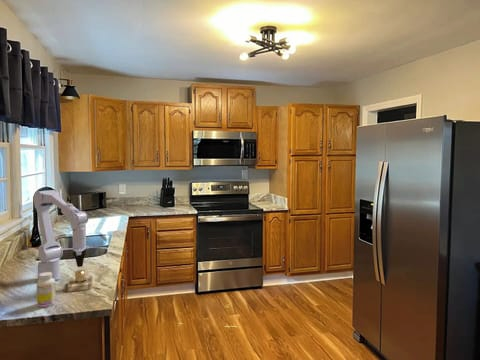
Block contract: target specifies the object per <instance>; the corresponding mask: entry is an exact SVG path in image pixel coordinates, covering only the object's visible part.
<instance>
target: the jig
mask: <svg viewBox="0 0 480 360" xmlns="http://www.w3.org/2000/svg"><path fill="white" fill-rule="evenodd" d="M68 280H69V281H68V284H67V292H68V293H71V292H77V291H78V292H79V291H80V292H81V291H84V290H85V291H87V289H88V290H92V289H93V275H88V276H86V275H85V282H83V283H75V277H71V278H70V277H69V279H68Z"/></svg>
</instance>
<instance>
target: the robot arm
mask: <svg viewBox="0 0 480 360" xmlns="http://www.w3.org/2000/svg"><path fill="white" fill-rule="evenodd" d="M32 200H33V204H34V208H35V210H36V213H37V219H38V224H39V230H40V234H41V241H42V243H41V245H39V246H38V248H37V249H38V253H37V257H38V260H39V261H38V263H37V282H38V281H39V280H40V278H39V274H41V273H45V272H51V273H52V278H53V279H54V280H55V281H60V279H61V277H62V274H61V273H60V260H61V258H62V257H63V254H64V253H63V252H64V250H63V247H62V245H61V243H60V242H59V241H57V240H56V239H55V235H54V229H53V225H52V219H51V215H50V214H51V213H50V209H51V208H52V207H54V206H56V207H57V208H59V209H61V210H60V211H61V214H62V215H64V216H65V217H66V219H68V221H69V224H70V227H71V230H72V231H71V232H72V233H71V234H72V248H71V249H72V255H73V257H74V258H75V263H76V267H77V268H81V267H82V268H83V265H84V259H85V256H86V254H87V249H89V248H90V245H87V232H86V231H87V228H86V227H87V226H86V224H87V223H88V222H89V215H88V213H87V212H86V211H84V210H79V209H78V208H76V207H75V206H74V204H73V203H67V202H66V201H65V200H64V199H63V198H62V197H61V195H60V192H58V191H57V190H56V189H51V190H50V189H49V190H37V191H35V192H34V194H33V196H32Z"/></svg>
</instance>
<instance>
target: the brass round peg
mask: <svg viewBox="0 0 480 360" xmlns="http://www.w3.org/2000/svg"><path fill="white" fill-rule="evenodd" d="M85 277H86V275H85V270H83V269H81V270H79V269H78V270H76V271H75V272H74V278H75V283H83V282H85Z"/></svg>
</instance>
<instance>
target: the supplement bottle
mask: <svg viewBox="0 0 480 360" xmlns="http://www.w3.org/2000/svg"><path fill="white" fill-rule="evenodd" d="M39 278H40V280H39V281H38V280H37V281H36V295H37V302H36V303H37V306H38V307H40V308H48V307H51V306H53V305H54V304H55V303H56V302H57V301H56V299H57V298H56V280H54V279H53V278H52V273H51V272H45V273H41V274H39Z"/></svg>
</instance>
